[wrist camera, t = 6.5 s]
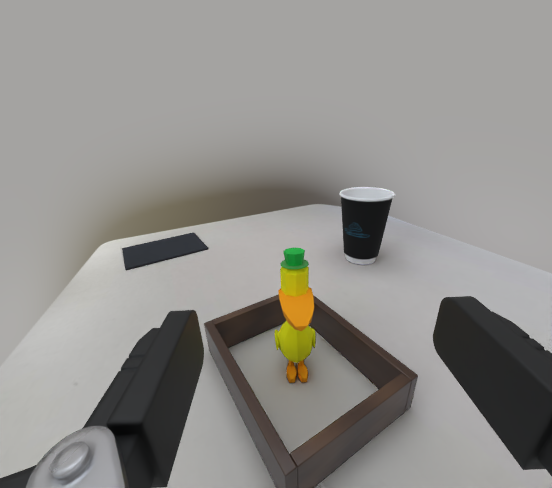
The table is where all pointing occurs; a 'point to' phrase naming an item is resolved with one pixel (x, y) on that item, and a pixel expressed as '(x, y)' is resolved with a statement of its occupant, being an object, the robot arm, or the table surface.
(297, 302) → the toy figure
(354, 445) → the tray box
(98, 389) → the table surface
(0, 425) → the table surface
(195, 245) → the rubber pad
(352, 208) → the dixie cup
